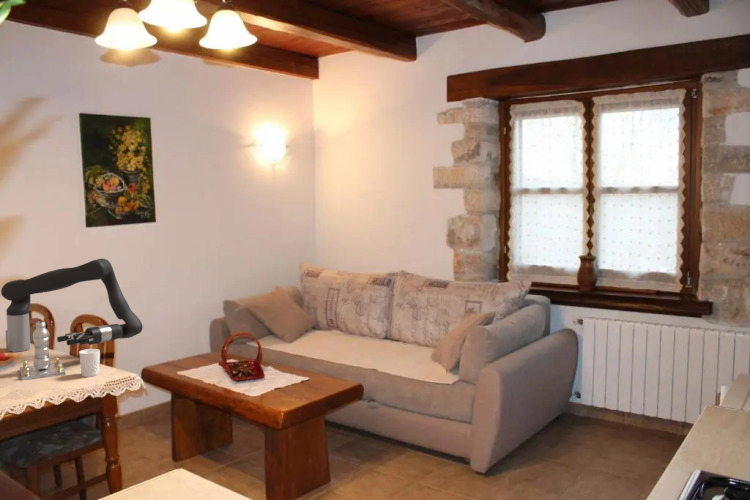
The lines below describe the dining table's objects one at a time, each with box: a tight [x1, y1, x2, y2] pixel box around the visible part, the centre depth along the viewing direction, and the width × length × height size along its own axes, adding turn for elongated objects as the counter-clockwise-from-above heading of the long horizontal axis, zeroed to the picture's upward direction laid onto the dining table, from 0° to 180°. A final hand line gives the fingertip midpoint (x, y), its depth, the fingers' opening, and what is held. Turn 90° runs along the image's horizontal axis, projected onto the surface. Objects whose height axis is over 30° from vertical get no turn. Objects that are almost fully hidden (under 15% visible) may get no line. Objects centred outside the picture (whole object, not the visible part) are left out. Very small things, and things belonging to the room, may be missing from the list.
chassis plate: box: [19, 356, 66, 381], centre depth 275 cm, size 16×16×4 cm
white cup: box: [78, 348, 101, 378], centre depth 272 cm, size 8×8×10 cm
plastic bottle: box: [32, 320, 52, 369], centre depth 275 cm, size 6×7×20 cm
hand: (62, 341), depth 280 cm, fingers open, 8 cm apart
